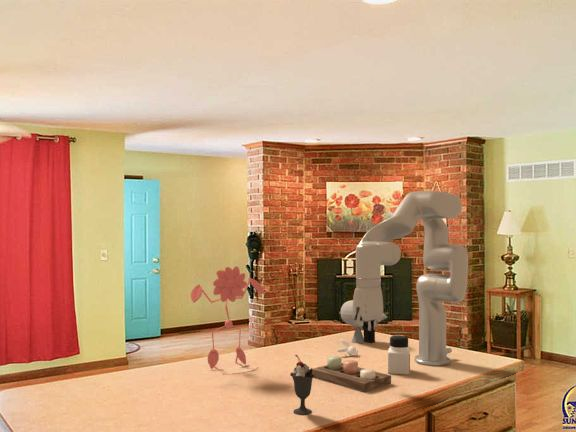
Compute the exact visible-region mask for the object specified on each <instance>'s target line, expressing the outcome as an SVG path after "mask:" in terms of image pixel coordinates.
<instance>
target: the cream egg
mask: <svg viewBox="0 0 576 432" xmlns="http://www.w3.org/2000/svg"><path fill="white" fill-rule="evenodd" d="M375 372H376V371H375V370H374V369H369V368H364V369H363V370H361V371H360V378H363V379H366V380H371V379H375Z"/></svg>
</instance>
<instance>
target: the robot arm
mask: <svg viewBox="0 0 576 432" xmlns="http://www.w3.org/2000/svg"><path fill="white" fill-rule="evenodd" d="M462 209H463V205H462V200H461V198H460V197H459V196H458V195H456V194H454V193H450V192H444V191H439V190H420V191H419V190H418V191H417V190H416V191H411V192H408V193H407V194H406V195H405V196H404V198H403V199H402V200H401V201H400V203H399V204H398V206H397V207H396V209H395V210H394V211H393V212H392V214H391V216H389V218H386V219H385V220H383V221H381V222H379V223H377V224H376V225H375V226H373V227H371V228H370V229H369V230H367V232H366V233H365V234H364V236H363V237H362V238H361V239H360V242H359V243H358V244H357V245H356V248H355V284H356V285H355V287H356V288H354V293H353V296H352V297H353V299H352V300H353V319H354V320H357V322H356V325H358V326H361V327H362V328H361V330H363V338H364V343H367V344H374V343H375V342H376V329H377V326H378V325H377V323H378V322H379V323H380V322H381V317H382V316H383V314H384V298H383V291H382V287H381V286H382V285H381V284H382V283H381V278H382V277H381V266H393V265H395V264H397V263H398V262H399V261H400V259H401V256H402V251H401V248H400V246H399V245H398V244H397V243H395V242H392V240H396V239H400V238H403V237H406V236H409V235H410V234H412V233H413V230H415V228H416V226H417V225H418V223H419V221H421V223H422V225H423V228H424V229H423V230H424V241H423V252H422V253H423V255H422V259H423V260H422V261H423V266H424V267H425V268H426V269H429V270H432V271H443V272H449V274H442V273H424V274H421V275H420V276H419V277H418V278H417V281H416V288H415V289H416V295H417V298H418V316H419V317H418V339H419V340H418V355H415V356H414V361H415V362H416V363H417V364H421V365H426V366H446V365H449V364H451V358H450V357H449V356H448V354H451V353H452V350H453V349H452V348H451V347H447V311H446V308H445V307H444V304H443V303H442V302H445V303H453V304H459V303H461V302H463V301H464V299H465V298H466V294H467V287H468V274H469V273H468V270H469V254H468V251H467V249H466V248H465V247H464V246H463V245H462V244H461V245H459V244H453V243H452V244H450V243H449V238H450V236H449V235H450V231H449V228H448V225H447V223H446V222H445V220H444V219H448V220H449V219H455V218H457V217H458V216H459V217H460V215H461V212H462ZM379 323H378V324H379ZM376 325H377V326H376Z"/></svg>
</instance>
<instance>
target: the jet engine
mask: <svg viewBox="0 0 576 432" xmlns="http://www.w3.org/2000/svg"><path fill="white" fill-rule="evenodd" d="M340 317H341V320H342V321H343V322H345V324H347V325H349V326H351V327H355V330H354V333H353V336H352V340H351V343H355V344H364V343H365V342H364V334H363V332H362V327H361V326H358V325H356V322H357V320H354V319H353V299H352V300H348V301H345V302H344V303H343V304H342V306H341V308H340ZM387 318H389V317H388V316H387V315H386V314H385V313H383V316H382V317H381V321H383V320H385V319H387ZM381 321H380V322H381ZM380 322H378V323H377V325H376V327H378V325H379V323H380Z"/></svg>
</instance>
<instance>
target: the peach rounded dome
mask: <svg viewBox="0 0 576 432" xmlns="http://www.w3.org/2000/svg"><path fill="white" fill-rule="evenodd" d="M342 363H343V373H344V374H348V375H355V374H358V367H359V362H358V361H357V360H353V359H352V360H351V359H350V360H349V359H348V360H344V361H343V362H342Z"/></svg>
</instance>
